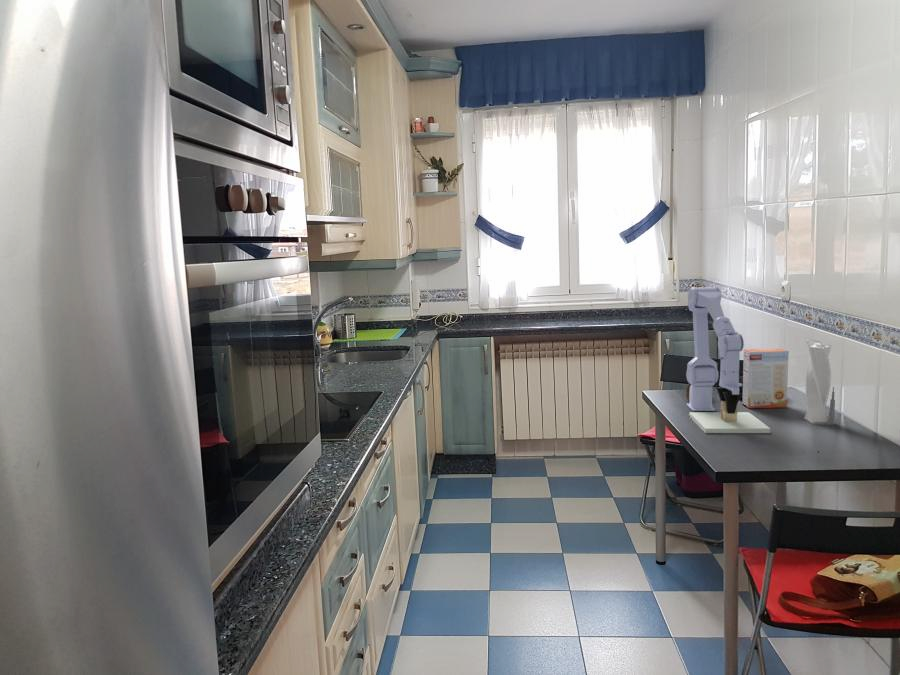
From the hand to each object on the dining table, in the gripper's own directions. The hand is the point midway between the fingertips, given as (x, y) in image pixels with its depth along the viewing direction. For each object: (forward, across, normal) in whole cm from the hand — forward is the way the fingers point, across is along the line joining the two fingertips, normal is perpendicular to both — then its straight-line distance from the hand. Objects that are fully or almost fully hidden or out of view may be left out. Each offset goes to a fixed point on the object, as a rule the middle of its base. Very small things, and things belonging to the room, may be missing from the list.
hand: (728, 410), depth 230 cm
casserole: (+5, +41, -22) cm, 47 cm away
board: (+5, 0, 0) cm, 5 cm away
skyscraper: (+5, +4, -30) cm, 31 cm away
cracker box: (+5, +24, -20) cm, 32 cm away
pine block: (+3, 0, 0) cm, 3 cm away
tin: (+5, +35, +1) cm, 35 cm away
